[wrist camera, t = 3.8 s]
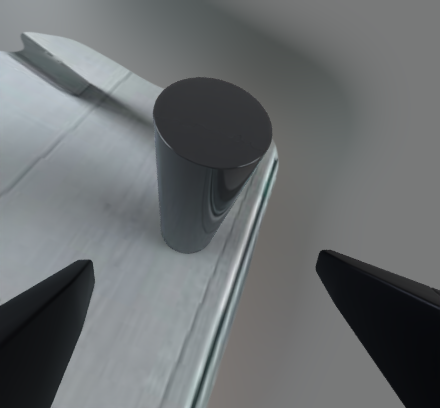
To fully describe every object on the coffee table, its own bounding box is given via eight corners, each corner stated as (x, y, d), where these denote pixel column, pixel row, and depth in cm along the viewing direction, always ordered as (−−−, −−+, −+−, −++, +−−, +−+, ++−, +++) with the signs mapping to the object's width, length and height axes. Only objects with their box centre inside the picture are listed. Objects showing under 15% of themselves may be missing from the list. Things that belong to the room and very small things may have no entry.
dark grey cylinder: (222, 218, 23) (286, 110, 11) (199, 263, 21) (248, 191, 8) (177, 194, 23) (191, 61, 11) (149, 237, 21) (125, 127, 8)
